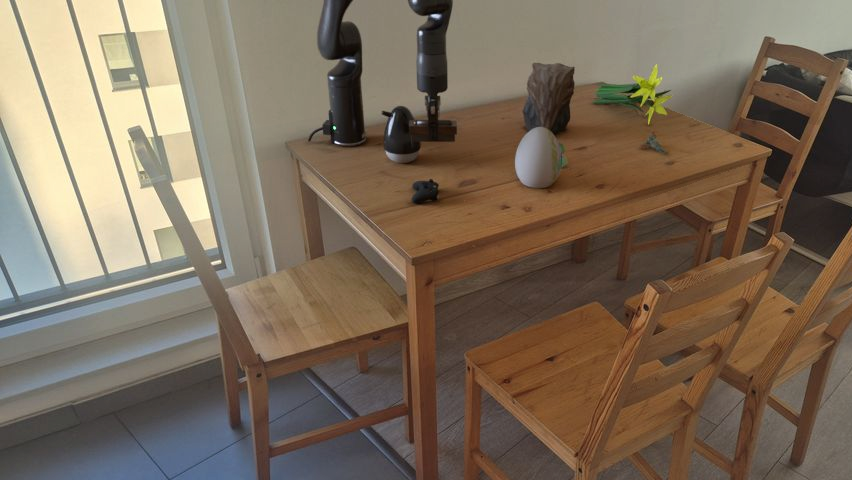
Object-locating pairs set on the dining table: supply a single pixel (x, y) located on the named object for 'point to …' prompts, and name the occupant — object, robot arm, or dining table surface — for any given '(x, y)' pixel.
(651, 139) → the dragon figurine
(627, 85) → the daffodil flowers
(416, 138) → the scrub brush
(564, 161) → the seedling
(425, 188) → the game controller
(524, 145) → the decorative egg
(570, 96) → the owl
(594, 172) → the dining table surface
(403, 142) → the pump dispenser
